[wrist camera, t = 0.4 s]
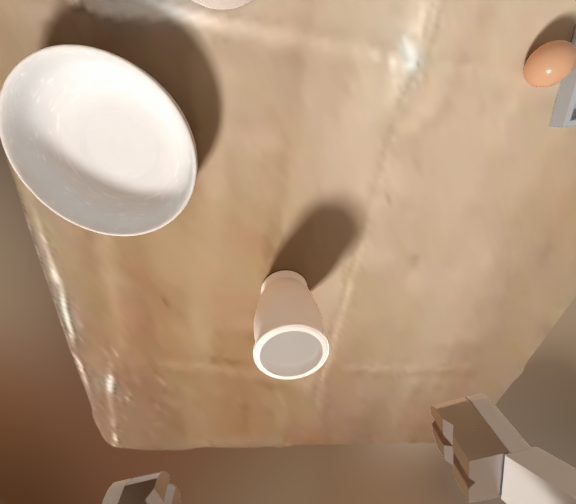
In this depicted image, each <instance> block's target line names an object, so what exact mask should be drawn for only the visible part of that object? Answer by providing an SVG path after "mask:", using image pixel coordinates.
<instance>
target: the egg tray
mask: <svg viewBox="0 0 576 504" xmlns="http://www.w3.org/2000/svg"><path fill="white" fill-rule="evenodd" d="M571 43H572V44H573V45H574V46H575V48H576V27H575V31H574V35H573V38H572V42H571ZM549 126H551V127H558V128H566V127H572V126H576V64H575V67H574V68H573V70H572V71H571V73H570V74H569V75H568V76H567V77H566V78H565V79H563V80H562V81H561V83H560V87H559V91H558V95H557V98H556V102H555V106H554V110H553V113H552V117H551V121H550V125H549Z"/></svg>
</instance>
